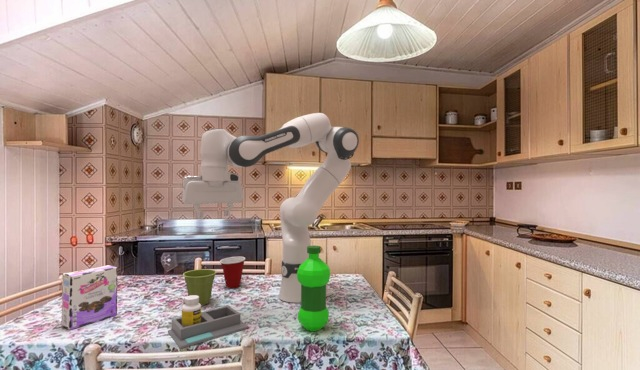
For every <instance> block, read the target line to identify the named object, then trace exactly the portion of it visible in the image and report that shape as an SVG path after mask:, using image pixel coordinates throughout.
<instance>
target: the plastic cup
mask: <svg viewBox="0 0 640 370" xmlns="http://www.w3.org/2000/svg"><path fill="white" fill-rule="evenodd" d="M245 260H246V257H244V256H230V257H225V258H221V259H220V260H219V263H220V265H221V267H222V272H223V278H224V281H225V286H226V288H227V289H236V288H240V286H241V283H242V277H243V270H244V264H245Z"/></svg>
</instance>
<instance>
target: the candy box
mask: <svg viewBox="0 0 640 370" xmlns="http://www.w3.org/2000/svg"><path fill="white" fill-rule="evenodd" d="M61 282H62V284H61V286H62V289H61V292H62V293H61V294H62V295H61V326H62V327H64V328H66V330H73V329H78V328H81V327H83V326H87V325H89V324H94V323H97V322H100V321H103V320H106V319H108V318H113V317H115V316H117V315H118V267H117V266H113V265H109V264H108V265H107V264H106V265H103V266H98V267H92V268H87V269H83V270H77V271H72V272H71V271H70V272H64V273H62V281H61Z"/></svg>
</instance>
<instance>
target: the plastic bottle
mask: <svg viewBox="0 0 640 370" xmlns="http://www.w3.org/2000/svg"><path fill="white" fill-rule="evenodd" d="M321 252H322V251H321V245H311V246H308V247H307V253H309V258H308V259H307V260H305V261H304V262H303V263H302V264H301V265H300V266H299V268H298V271H297V279H298V281H299V283H300V284H301V303H300V305H301V306H300V308H299V311H298V314H297V320H298V322H299V324H300V325H301V326H303V328H304V329H305V328H306V329H305V330H306V331H309V330H310V332H317V331H316V330H318V331H320V330H322V329H321V328H324V327H326V325H327V324H328V322H329V321H330V320H329V319H330V318H329V317H330V311H329V308H328V306H327V297H326V284H327V285H328V283H329V282H330V278H331V270H330V269H331V268H330V267H329V265H328V264H327V263H326V262H325V260H323V259H321V258H320V254H322V253H321ZM319 329H320V330H319Z"/></svg>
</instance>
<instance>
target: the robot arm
mask: <svg viewBox="0 0 640 370" xmlns="http://www.w3.org/2000/svg"><path fill="white" fill-rule="evenodd" d="M313 143H315V145H316V146H317V148H318V149H319V150H320V151H321V152H323V153H325V154H326V158H325V160H324V162H323V163H322V164H320V166H318V168H317V169H316V170H315V171H314V172H313V173H312V174H311V175H310V176H309V178H308V179H307V180H305V183H304V185H303V187H302V188H301V189H300V191H299V192H298V193H297V195H296V196H294V197H293V196H292V197H288V198H286V199H285V200H283V202H282V203H281V205H279V206H280V207H279V218H280V227H281V236H282V259H281V260H282V261H281V269H280V270H281V283H280V287H279V288H280V290H279V293H278V297H277V298H278V299H279V300H281V301H283V302H287V303H295V304H296V303H299V304H301V284H300V283H299V281H298V279H297V271H298V268H299V266H300V265H301V264H302V263H303V262H304V261H305V260H307V259H308V258H309V253H307V247H308V246H312V242H311V237H310V234H309V233H310V232H309V227H310V226H312V225H313V224H314V223H315V221H316V219H317V217H318V214H319V212H320V211H321V209H322V208H323V206H324V204H325V203H326V202H327V200H328V199H329V197H330V196H331V195H333V193H334V192H335V191H336V190H337V188H338V187H339V186H340V185H341V184H342V182H343V181H344V180H345V179H346V177H347V175H348V174H349V172H350V171H351V169H352V163H351V161H350V159H352V158H353V156H355V155H354V154H355V152H356V151H357V149H358V147H359V143H360V139H359V134H358V133H357V132H356V131H355V130H354V129H352V128H350V127H347V126H344V127H343V126H332V125H331V120H330V119H329V117H328V116H327V114H325V113H322V112H313V113H308V114H304V115H301V116H298V117H295V118H293V119H291V120H289V121H287V122H285V123H284V124H283V125H282V126H281V127H280V128H279V129H277V130H274V131H271V132H268V133H266V134H262V135H257V136H254V135H253V136H252V135H241V136H238V137H236V136H234V135H232V134H231V133H229V132H228V131H227V130H226V129H225V128H210V129H208V130H205V131H204V132H203V134H202V135H201V140H200V157H201V162H200V163H201V164H200V171H199V172H200V174H199V175H187V176H185V177H183V179H182V188H183V190H182V195H181V200H182V201H181V202H183V203H184V204H185V205H193V209H194V210H195V212H196V218H198V219H199V218H203V217H204V212H202V211H201V210H200V206H201V204H202V205H203V204H207V205H209V204H226V206H227V208H226V210H223V215H224V217H230V216H231V211H232V209H233V207H234V204H235V203H242V201H243V200H244V190H243V189H244V188H243V185H242V182H241V180H242V177H241V176H240V175H239V174H236V173H233V172H231V171H229V170H228V166H232V167H235V168H248V167H249V168H250V167H252V166H254V165H256V164H257V163H258V162H259V161H260V160H261V159H262V158H263V157H264V156H265V155H268V154H270V153H272V152H275V151H278V150H280V149H284V148H290V149H296V148H297V149H298V148H303V147H306V146H308V145H312V144H313ZM183 203H182V204H183ZM331 295H334V290H333V289H332V288H330V287H329V286H328V283H327V284H326V298H327V297H329V296H331Z"/></svg>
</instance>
